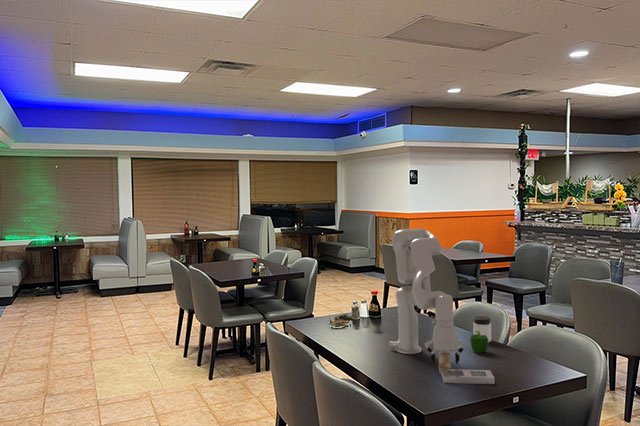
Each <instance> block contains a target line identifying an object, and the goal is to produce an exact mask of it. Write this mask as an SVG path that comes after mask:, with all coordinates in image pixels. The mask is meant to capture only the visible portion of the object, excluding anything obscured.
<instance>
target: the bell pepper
mask: <svg viewBox="0 0 640 426" xmlns="http://www.w3.org/2000/svg"><path fill="white" fill-rule="evenodd" d="M476 332H478V334H476V335H474V334H473V333H472V334H471V336H470V339H469V340H470V346H471V348H472V351H473V352H474V353H477V354H481V353H486V352H487V350H488V346H489V343H488V338H487V336H486V335H482V336H481V335H480V332H479V331H478V330H476Z"/></svg>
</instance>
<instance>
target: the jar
mask: <svg viewBox="0 0 640 426" xmlns="http://www.w3.org/2000/svg"><path fill="white" fill-rule="evenodd" d="M472 330H473V331H472V332H473V333H472V334H474V335H476V334H478V332H476V330H478V331H479V332H480V335H481V336H482V335H486V336H487V338H488V344H489V343H490V342H492V322H491V317H488V316H485V315H484V316H482V315H480V316H479V315H478V316H477V315H476V316H474V317H473V329H472Z"/></svg>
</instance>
